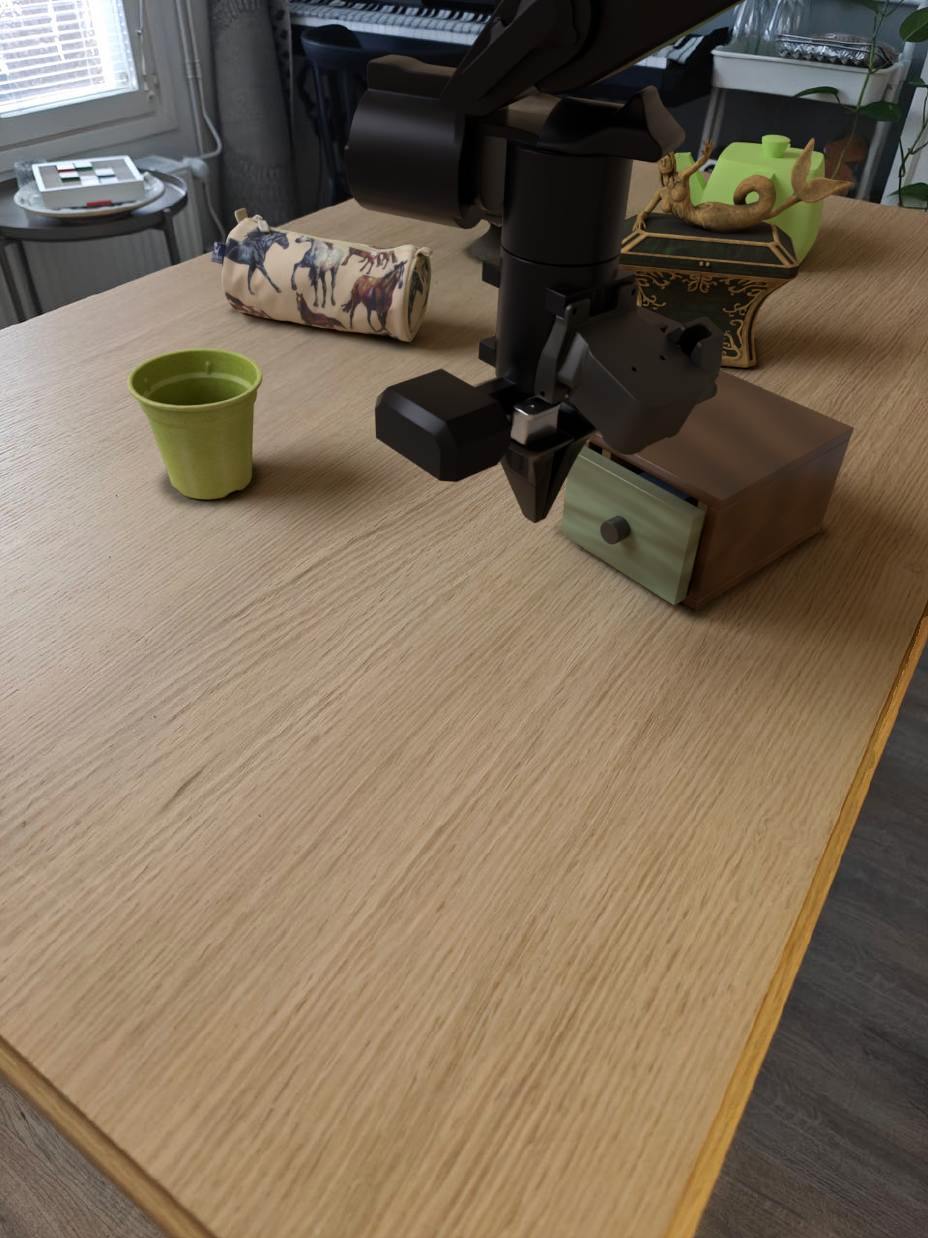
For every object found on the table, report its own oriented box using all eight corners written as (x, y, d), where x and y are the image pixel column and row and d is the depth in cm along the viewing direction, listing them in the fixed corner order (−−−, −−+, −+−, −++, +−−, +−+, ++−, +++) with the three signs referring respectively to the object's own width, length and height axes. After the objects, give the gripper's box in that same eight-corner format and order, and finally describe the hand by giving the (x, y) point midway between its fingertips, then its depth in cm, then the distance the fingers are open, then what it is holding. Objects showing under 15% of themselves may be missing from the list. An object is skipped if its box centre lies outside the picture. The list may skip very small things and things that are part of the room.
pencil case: (215, 322, 94) (200, 223, 88) (257, 294, 101) (246, 198, 94) (414, 359, 89) (413, 256, 83) (445, 326, 95) (447, 228, 89)
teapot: (642, 262, 111) (660, 143, 103) (679, 216, 125) (697, 108, 117) (799, 288, 106) (832, 165, 97) (819, 237, 120) (849, 125, 112)
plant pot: (281, 449, 76) (270, 348, 70) (266, 514, 68) (252, 407, 63) (165, 448, 75) (144, 346, 70) (137, 513, 68) (111, 405, 62)
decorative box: (597, 358, 90) (625, 136, 78) (603, 320, 98) (630, 110, 85) (808, 380, 88) (873, 154, 75) (798, 339, 95) (856, 126, 82)
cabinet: (695, 610, 61) (722, 500, 56) (569, 531, 68) (582, 426, 62) (819, 531, 69) (854, 427, 63) (695, 467, 75) (717, 367, 70)
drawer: (662, 613, 59) (680, 525, 55) (548, 539, 65) (556, 455, 61) (794, 531, 67) (820, 448, 62) (681, 471, 73) (697, 392, 68)
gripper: (536, 354, 35) (509, 659, 45) (818, 254, 44) (744, 524, 54) (362, 267, 41) (373, 552, 51) (642, 196, 51) (604, 448, 61)
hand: (534, 518), depth 54 cm, fingers closed
